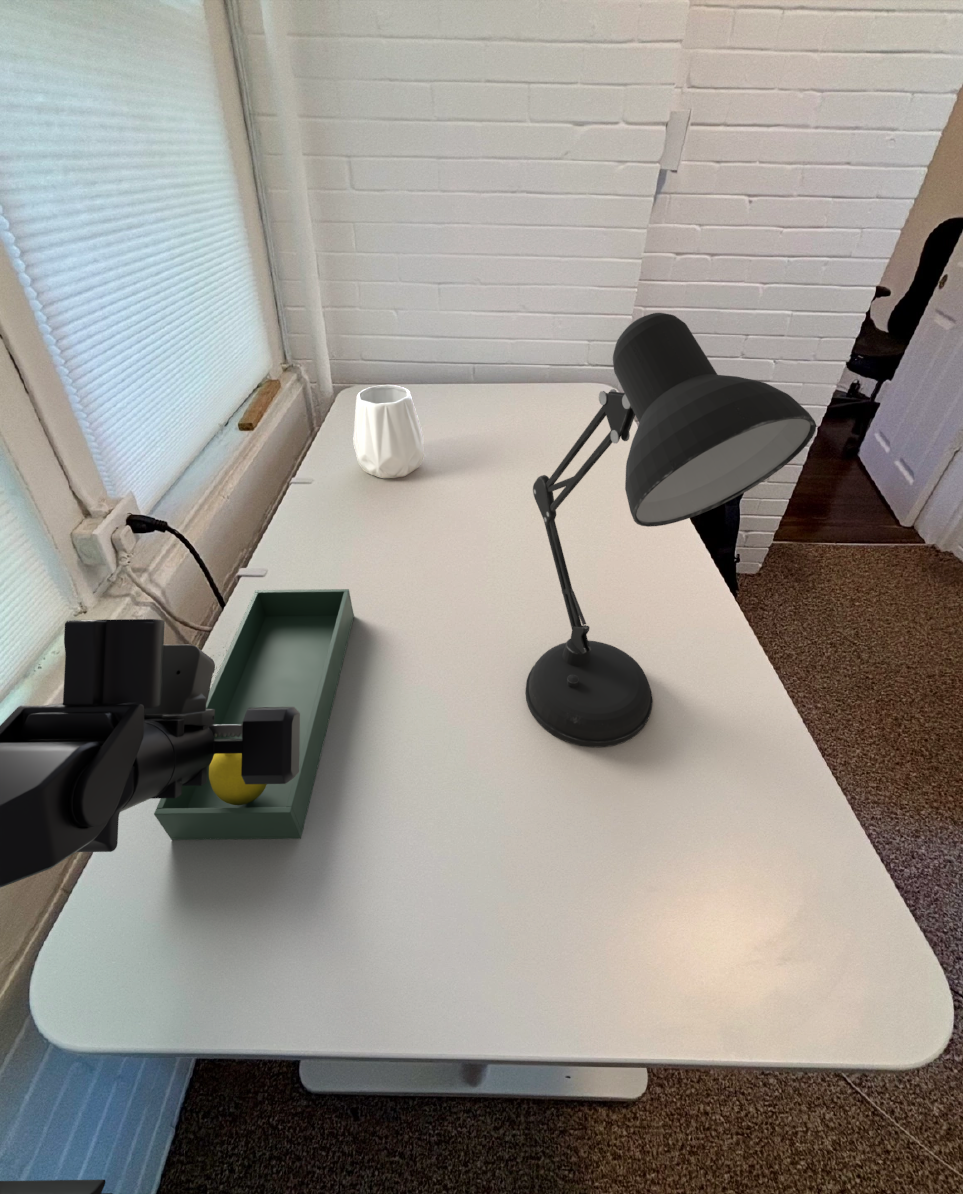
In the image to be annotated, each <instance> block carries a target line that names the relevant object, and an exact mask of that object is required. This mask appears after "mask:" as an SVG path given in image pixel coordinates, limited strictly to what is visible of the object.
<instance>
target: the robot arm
mask: <svg viewBox="0 0 963 1194" xmlns="http://www.w3.org/2000/svg"><path fill="white" fill-rule="evenodd" d="M63 645H64V652H65V655H64V656H65V657H64V674H63V675H64V677H63V693H62V694H63V696H62V702H60V703H54V704H45V705H37V704H36V705H19V706H18V707H16V708H15V709H14V710H13V712H11V714H10V715H9V716H7V718H6V719H4V721H3V722H2V723H1V724H0V889H1V888H3V887H6V886H9V885H11V884H13V883H18V882H19V881H22V880H25V879H27V878H29V877H32V876H35V875H38V874H40V873H44V872H46V871H48V870H50V869H53V868H55V867H56V866H57V865H60V863H62V862H64V861H65V860H66V859H68V858H70V857H71V856H73V855H74V854H75V853H112V852H114V851H115V850H116V849H117V847H118V844H119V843H118V840H119V839H118V838H119V820H120V819H119V818H120V813H122V812H124V811H126V810H128V809H130V808H133V807H135V806H138V805H140V804H142V803H144V802H146V801H148V800H151V799H152V800H153V799H155V800H156V799H161V798H177V797H179V796H181V795H182V786H201V785H203V784H205V783H207V766H209V765H210V763H211V762H212V759H213V756H214V754H230V753H242V767H241V776H242V778H243V780H244V782H245V784H286V783H288V782H289V781H290V780H292V779H293V778H294V777H295V776H296V775H297V774H298V773H299V746H300V713H299V712H298V710H297V709H296V708H295V707H258V708H248V709H247V711H246V714H245V717H244V719H243V723H242V724H228V725H214V723H215V709H206V703H207V700H208V696H209V691H210V689H211V686H212V685H211V684H212V680H213V675H214V673H215V670H216V663H215V660H214V659H212V657H211V656H209V655H208V654H207V653H205V652H204V651H203V650H201V649H200V648H199V647H198V646H196V645H194V644H165V620H164V619H157V618H147V619H146V618H139V619H138V618H137V619H136V618H135V619H133V618H132V619H127V618H126V619H123V618H122V619H120V618H119V619H72V620H71V619H69V620H66V621H65V623H64V633H63ZM217 734H218V737H221V736H222V735H223V737H226V735H227V736H228V737H230V736H231V734H232V737H235V735H237V737H239V736H240V734H241V736H242V739H214V737H217ZM105 1186H106V1179H51V1180H50V1179H47V1180H45V1179H44V1180H43V1179H42V1180H38V1179H37V1180H35V1179H34V1180H0V1194H113V1192H111V1193H110V1192H109V1193H108V1192H107V1193H102V1192H103V1190H104V1188H105Z"/></svg>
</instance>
